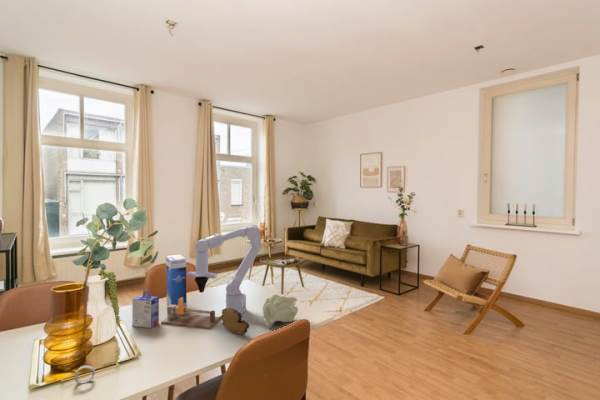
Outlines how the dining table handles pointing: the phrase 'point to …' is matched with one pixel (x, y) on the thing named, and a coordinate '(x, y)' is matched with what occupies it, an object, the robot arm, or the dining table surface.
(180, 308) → the orange plastic bracket
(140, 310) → the ink cartridge box
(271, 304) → the folded clay sculpture
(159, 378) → the dining table surface
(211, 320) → the cord rail
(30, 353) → the dining table surface
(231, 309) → the wooden carving
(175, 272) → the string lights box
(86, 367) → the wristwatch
